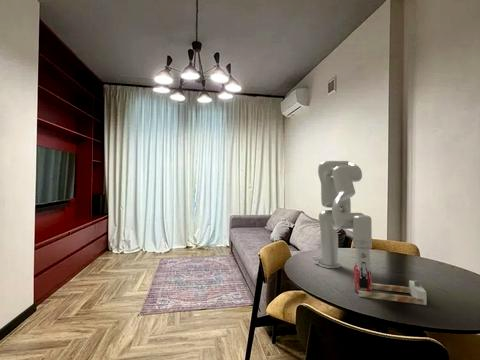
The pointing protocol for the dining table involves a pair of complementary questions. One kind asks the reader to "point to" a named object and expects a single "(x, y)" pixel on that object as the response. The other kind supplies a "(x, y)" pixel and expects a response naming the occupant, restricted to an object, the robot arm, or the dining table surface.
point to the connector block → (417, 290)
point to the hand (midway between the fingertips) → (362, 284)
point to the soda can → (356, 280)
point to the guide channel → (391, 296)
